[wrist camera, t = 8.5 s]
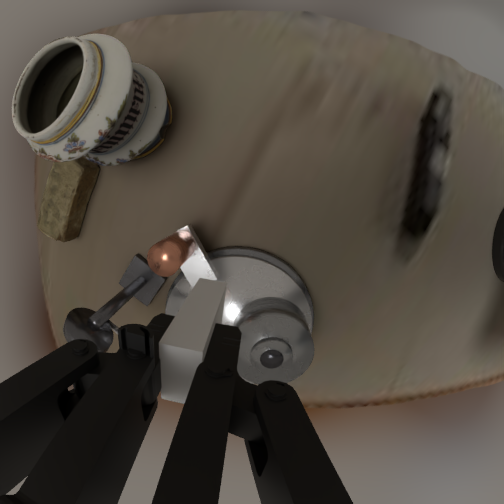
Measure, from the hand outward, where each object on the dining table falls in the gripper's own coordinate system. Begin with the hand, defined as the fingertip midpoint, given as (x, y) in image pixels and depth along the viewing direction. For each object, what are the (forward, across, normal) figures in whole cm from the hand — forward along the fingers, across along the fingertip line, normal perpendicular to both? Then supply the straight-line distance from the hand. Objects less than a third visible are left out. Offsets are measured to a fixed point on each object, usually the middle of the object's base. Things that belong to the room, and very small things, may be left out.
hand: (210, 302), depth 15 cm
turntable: (+16, 0, +8) cm, 18 cm away
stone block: (+19, +24, -3) cm, 30 cm away
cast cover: (+15, -5, +10) cm, 19 cm away
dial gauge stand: (+18, +11, +8) cm, 23 cm away
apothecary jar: (+19, +15, -13) cm, 27 cm away
